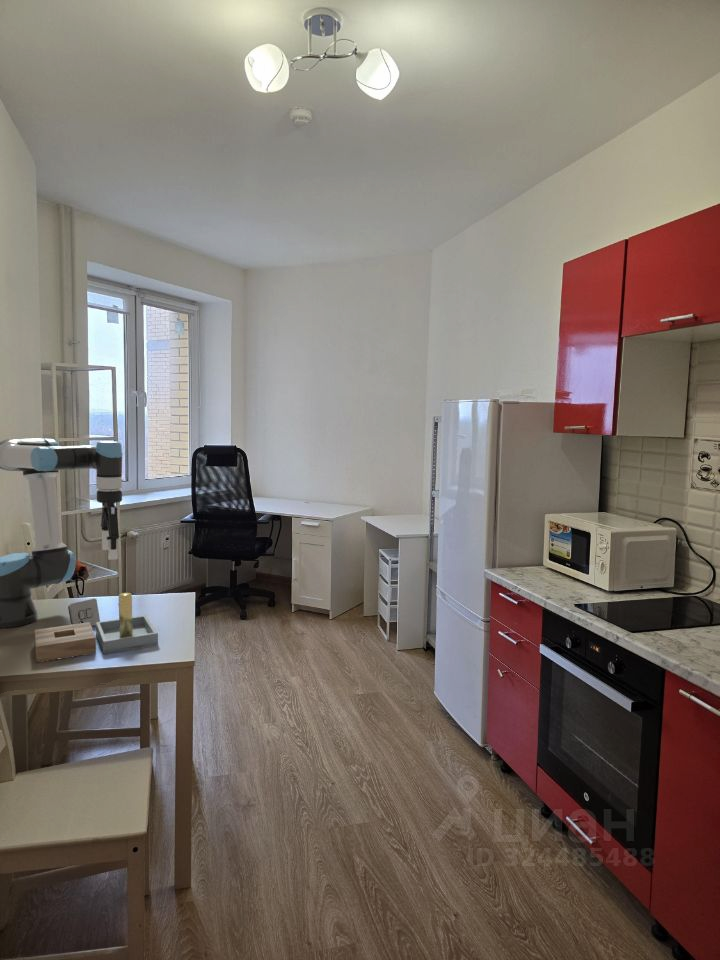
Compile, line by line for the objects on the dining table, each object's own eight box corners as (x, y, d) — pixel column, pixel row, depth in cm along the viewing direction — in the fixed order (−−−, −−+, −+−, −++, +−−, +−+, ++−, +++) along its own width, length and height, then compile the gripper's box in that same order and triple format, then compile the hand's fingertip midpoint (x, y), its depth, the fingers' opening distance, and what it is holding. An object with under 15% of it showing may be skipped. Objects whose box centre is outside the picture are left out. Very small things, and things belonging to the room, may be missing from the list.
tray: (96, 633, 199) (95, 622, 198) (146, 626, 207) (145, 615, 206) (103, 654, 182) (103, 641, 181) (158, 645, 190) (157, 633, 189)
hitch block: (35, 645, 188) (34, 629, 188) (90, 636, 196) (89, 622, 196) (36, 663, 174) (36, 646, 174) (96, 653, 182) (95, 637, 182)
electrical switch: (74, 631, 201) (72, 604, 200) (67, 629, 204) (65, 602, 204) (101, 624, 208) (99, 598, 208) (93, 623, 211) (91, 597, 211)
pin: (118, 635, 195) (117, 593, 194) (131, 633, 197) (130, 592, 196) (120, 639, 191) (119, 597, 190) (133, 637, 193) (132, 595, 192)
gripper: (128, 494, 182) (128, 562, 184) (115, 484, 203) (115, 545, 206) (102, 495, 178) (102, 564, 181) (91, 484, 199) (92, 546, 202)
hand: (109, 554), depth 193 cm, fingers open, 13 cm apart
